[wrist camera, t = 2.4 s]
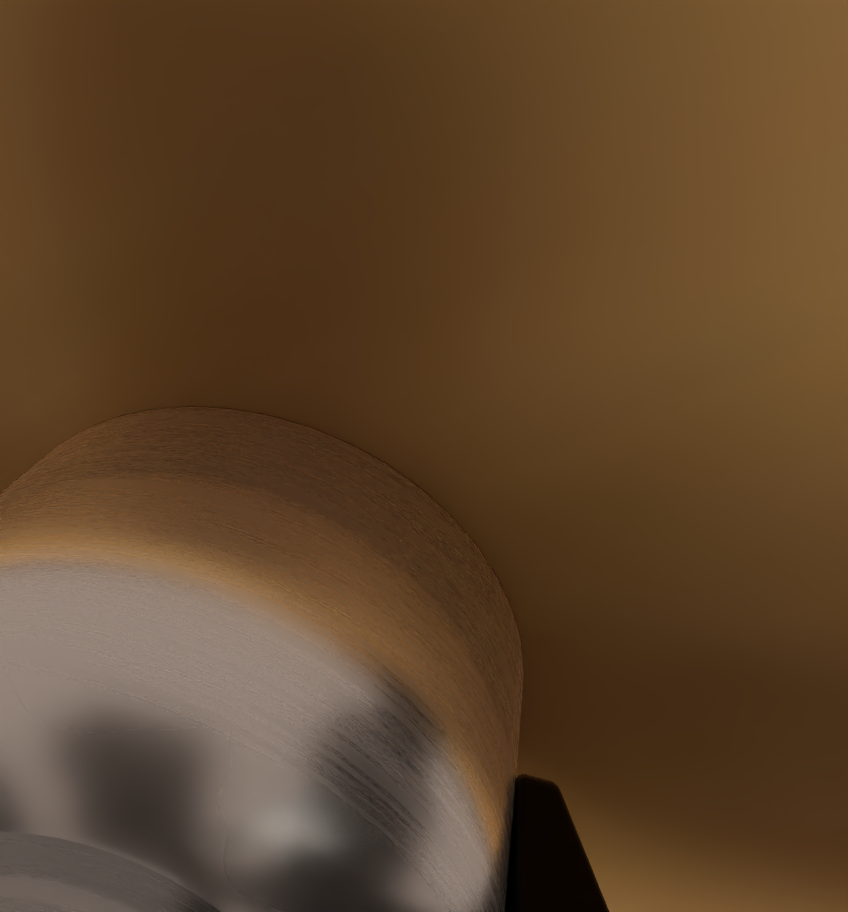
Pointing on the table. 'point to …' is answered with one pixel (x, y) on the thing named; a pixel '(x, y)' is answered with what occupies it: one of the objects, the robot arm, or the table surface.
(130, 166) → the table surface
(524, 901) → the robot arm
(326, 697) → the cap
